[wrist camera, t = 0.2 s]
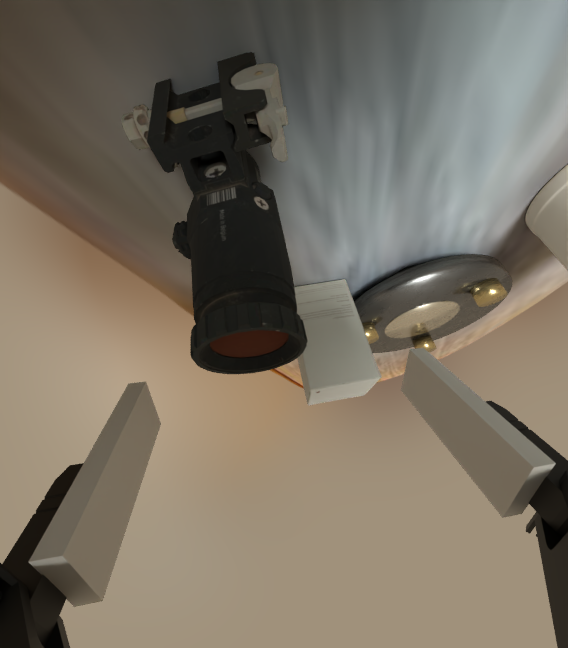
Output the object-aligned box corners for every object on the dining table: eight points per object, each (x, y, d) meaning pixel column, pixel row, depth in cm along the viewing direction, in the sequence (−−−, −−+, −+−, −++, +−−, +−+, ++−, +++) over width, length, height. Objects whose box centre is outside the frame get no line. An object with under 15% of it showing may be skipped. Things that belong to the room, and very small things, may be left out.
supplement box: (287, 317, 38) (305, 407, 32) (287, 285, 31) (309, 391, 25) (338, 309, 38) (364, 396, 32) (348, 277, 32) (383, 378, 26)
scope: (341, 237, 7) (338, 362, 16) (269, 43, 13) (296, 208, 22) (55, 309, 7) (206, 391, 16) (120, 90, 14) (203, 232, 23)
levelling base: (363, 252, 28) (380, 294, 26) (541, 237, 31) (573, 273, 29) (324, 341, 48) (332, 370, 45) (437, 327, 50) (450, 353, 48)
